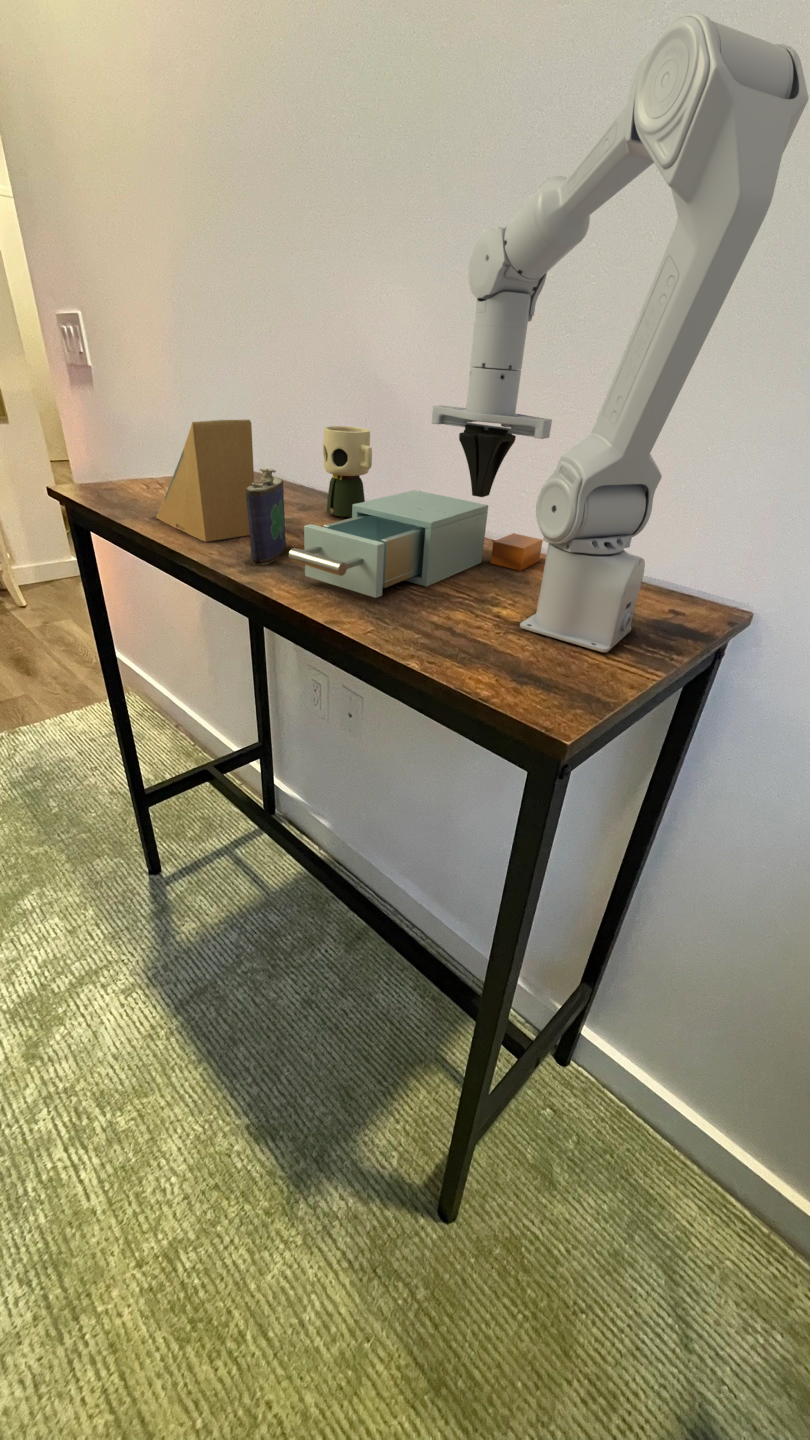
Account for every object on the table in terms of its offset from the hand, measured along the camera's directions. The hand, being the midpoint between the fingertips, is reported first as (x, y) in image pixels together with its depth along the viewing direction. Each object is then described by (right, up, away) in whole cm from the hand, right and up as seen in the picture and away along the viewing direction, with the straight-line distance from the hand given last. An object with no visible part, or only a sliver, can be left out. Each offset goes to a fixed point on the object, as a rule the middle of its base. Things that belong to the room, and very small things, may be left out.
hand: (480, 495), depth 77 cm
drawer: (-14, -11, -3) cm, 18 cm away
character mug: (-19, +6, +26) cm, 33 cm away
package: (+6, -6, +9) cm, 12 cm away
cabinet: (-8, -7, +6) cm, 12 cm away
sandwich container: (-39, +1, +16) cm, 42 cm away
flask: (-27, -6, +5) cm, 28 cm away
